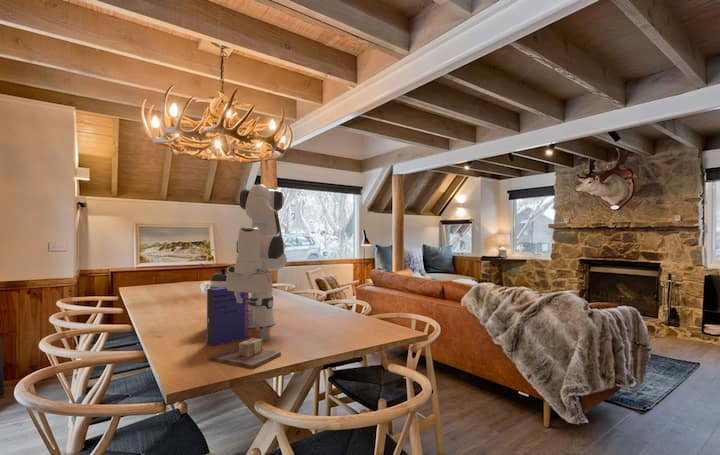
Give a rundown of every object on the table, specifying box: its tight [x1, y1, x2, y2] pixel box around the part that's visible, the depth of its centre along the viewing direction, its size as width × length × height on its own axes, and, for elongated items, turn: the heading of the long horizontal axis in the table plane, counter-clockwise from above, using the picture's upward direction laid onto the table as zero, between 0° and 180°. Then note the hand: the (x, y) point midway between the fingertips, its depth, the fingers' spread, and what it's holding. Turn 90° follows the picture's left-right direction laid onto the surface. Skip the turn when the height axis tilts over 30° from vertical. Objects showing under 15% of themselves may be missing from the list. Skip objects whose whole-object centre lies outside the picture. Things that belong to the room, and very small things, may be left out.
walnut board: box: [206, 344, 282, 369], centre depth 143 cm, size 22×16×1 cm
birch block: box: [238, 337, 263, 357], centre depth 145 cm, size 4×4×8 cm
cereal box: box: [206, 287, 250, 347], centre depth 165 cm, size 17×5×24 cm, turn 141°
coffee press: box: [209, 267, 228, 289], centre depth 190 cm, size 17×16×30 cm
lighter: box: [253, 322, 271, 341], centre depth 167 cm, size 7×2×8 cm, turn 103°
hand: (249, 304), depth 144 cm, fingers open, 8 cm apart
